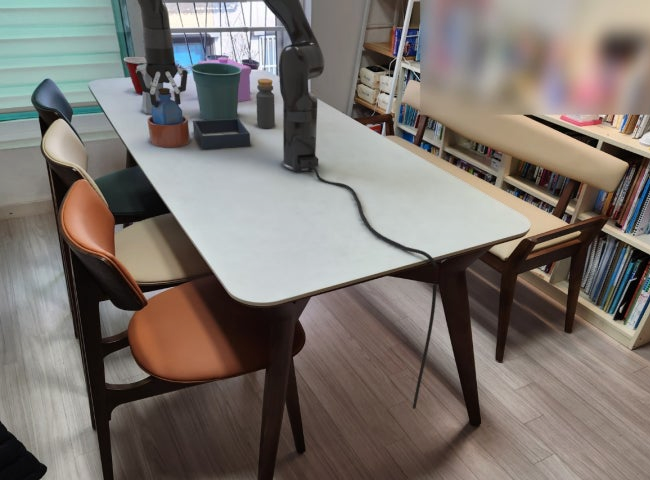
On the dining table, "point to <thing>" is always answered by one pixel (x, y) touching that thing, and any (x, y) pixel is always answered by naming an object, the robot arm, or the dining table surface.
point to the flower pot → (217, 89)
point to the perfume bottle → (166, 109)
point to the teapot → (244, 77)
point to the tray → (221, 140)
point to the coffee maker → (146, 96)
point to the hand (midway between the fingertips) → (166, 105)
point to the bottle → (265, 104)
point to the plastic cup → (132, 66)
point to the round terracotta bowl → (169, 133)
